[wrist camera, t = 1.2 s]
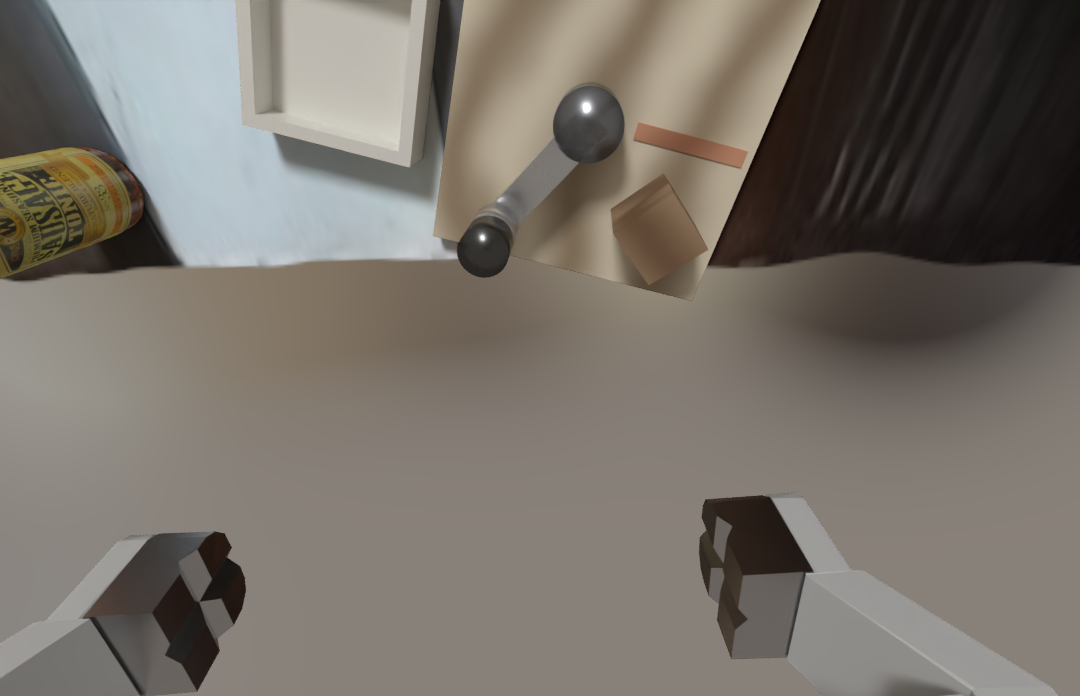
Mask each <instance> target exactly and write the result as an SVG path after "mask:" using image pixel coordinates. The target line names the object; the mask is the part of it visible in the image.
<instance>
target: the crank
mask: <svg viewBox="0 0 1080 696" xmlns="http://www.w3.org/2000/svg"><path fill="white" fill-rule="evenodd" d="M624 128H625V120H624V114H623V111H622V108H621V105H620V103H619V100H618V99H617V97H616V95H615V94H614V93H613V92H612V91H611V90H610V89H609V88H607V87H606V86H604V85H602V84H599V83H594V82H587V83H582V84H579V85H576V86H575V87H573V88H571V89H570V90H569V91H568V92H567V93H566V94H565V95H564V96H563V98H562V99H561V101H560V103H559V105H558V108H557V110H556V112H555V116H554V120H553V134H554V136H553V137H552V138H551V139H550V140H549V141H548V142H547V144H546V145H545V146H544V147H543V148H542V149H541V150H540V151H539V152H538V154H537V155H536V156H535V157H534V158H533V159H532V160H531V161H530V162H529V163H528V165H527V166H526V167H525V168H524V169H523V170H522V171H521V172H520V173H519V175H518V176H517V177H516V178H515V179H514V180H513V181H512V182H511V183H510V184H509V186H508V187H507V188H506V189H505V190H504V191H503V192H502V193H501V194H500V196H499V197H498V198H497V199H496V200H495V201H494V202H493V203H492V204H488V205H485V206H484V207H482V208H481V209H480V210H479V211H478V212H477V214H476V215H475V217H474V219H473V220H472V222H471V223H470V225H469V227H468V228H467V230H466V231H465V233H464V235H463V236H462V238H461V239H460V241H459V244H458V247H457V254H458V259H459V261H460V263H461V265H462V266H463V267H464V269H466V270H467V271H468V272H469V273H471V274H472V275H475V276H478V277H491V276H494V275H497V274H498V273H500V272H501V271H502V270H503V268H504V267H505V266H506V263H507V261H508V258H509V255H510V252H511V250H512V247H513V244H514V241H515V239H516V236H517V233H518V226H519V225H520V224H521V223H522V222H523V221H524V220H525V219H526V218H527V217H528V215H529V214H530V213H531V212H532V211H533V210H534V209H535V208H536V207H537V206H538V205H539V204H540V203H541V202H542V201H543V200H544V199H545V198H546V197H547V196H548V195H549V194H550V193H551V191H552V190H553V189H554V188H555V187H556V186H557V185H558V184H559V183H560V182H561V181H562V180H563V179H564V178H565V177H566V176H567V175H568V174H569V173H570V172H571V171H572V170H573V169H574V167H575V166H576V165H577V164H578V163H584V164H591V163H597V162H599V161H602V160H604V159H606V158H607V157H609V156H610V155H611V154H612V153H613V152H614V151H615V150H616V149H617V147H618V146H619V144H620V142H621V140H622V137H623V134H624Z"/></svg>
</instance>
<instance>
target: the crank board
mask: <svg viewBox="0 0 1080 696" xmlns="http://www.w3.org/2000/svg"><path fill="white" fill-rule="evenodd" d="M820 1H821V0H464V6H463V13H462V21H461V28H460V36H459V44H458V51H457V59H456V66H455V74H454V82H453V89H452V97H451V104H450V112H449V119H448V127H447V135H446V142H445V150H444V157H443V165H442V172H441V180H440V188H439V195H438V203H437V210H436V218H435V226H434V233H433V236H435V237H439V238H443V239H447V240H451V241H455V242H459V241H460V239H461V238H462V236H463V235H464V233H465V231H466V230H467V228H468V227H469V225H470V223H471V222H472V220H473V219H474V217H475V215H476V214H477V212H478V211H479V210H480V209H481V208H482V207H484V206H485V205H488V204H492V203H493V202H494V201H495V200H496V199H497V198H498V197H499V196H500V194H501V193H502V192H503V191H504V190H505V189H506V188H507V187H508V186H509V184H510V183H511V182H512V181H513V180H514V179H515V178H516V177H517V176H518V175H519V173H520V172H521V171H522V170H523V169H524V168H525V167H526V166H527V165H528V163H529V162H530V161H531V160H532V159H533V158H534V157H535V156H536V155H537V154H538V152H539V151H540V150H541V149H542V148H543V147H544V146H545V145H546V144H547V142H548V141H549V140H550V139H551V138H552V137H553V136H554V134H553V120H554V116H555V112H556V110H557V108H558V105H559V103H560V101H561V99H562V98H563V96H564V95H565V94H566V93H567V92H568V91H569V90H570V89H571V88H573V87H575V86H576V85H579V84H582V83H587V82H594V83H599V84H602V85H604V86H606V87H607V88H609V89H610V90H611V91H612V92H613V93H614V94H615V95H616V97H617V99H618V100H619V103H620V105H621V108H622V111H623V114H624V120H625V128H624V134H623V137H622V140H621V142H620V144H619V146H618V147H617V149H616V150H615V151H614V152H613V153H612V154H611V155H610V156H609V157H607V158H606V159H604V160H602V161H599V162H597V163H591V164H584V163H578V164H577V165H576V166H575V167H574V169H573V170H572V171H571V172H570V173H569V174H568V175H567V176H566V177H565V178H564V179H563V180H562V181H561V182H560V183H559V184H558V185H557V186H556V187H555V188H554V189H553V190H552V191H551V193H550V194H549V195H548V196H547V197H546V198H545V199H544V200H543V201H542V202H541V203H540V204H539V205H538V206H537V207H536V208H535V209H534V210H533V211H532V212H531V213H530V214H529V215H528V217H527V218H526V219H525V220H524V221H523V222H522V223H521V224H520V225H519V226H518V233H517V236H516V239H515V241H514V244H513V247H512V250H511V252H510V255H511V256H515V257H519V258H523V259H527V260H531V261H535V262H539V263H543V264H546V265H550V266H554V267H558V268H562V269H566V270H570V271H574V272H578V273H583V274H587V275H590V276H594V277H598V278H603V279H606V280H610V281H614V282H618V283H622V284H626V285H630V286H634V287H638V288H642V289H646V290H650V291H654V292H658V293H662V294H666V295H670V296H674V297H678V298H682V299H686V300H690V301H692V299H693V297H694V295H695V292H696V290H697V288H698V285H699V283H700V281H701V278H702V276H703V274H704V271H705V269H706V267H707V264H708V262H709V260H710V257H711V255H712V253H713V250H714V248H715V246H716V243H717V241H718V239H719V236H720V234H721V232H722V229H723V227H724V225H725V222H726V220H727V218H728V215H729V213H730V211H731V208H732V206H733V204H734V201H735V199H736V197H737V194H738V192H739V190H740V188H741V185H742V183H743V181H744V178H745V176H746V174H747V171H748V169H749V167H750V164H751V162H752V160H753V157H754V155H755V153H756V150H757V148H758V146H759V143H760V141H761V139H762V136H763V134H764V132H765V129H766V127H767V125H768V122H769V120H770V118H771V115H772V113H773V111H774V108H775V106H776V104H777V101H778V99H779V97H780V94H781V92H782V90H783V87H784V85H785V83H786V80H787V78H788V76H789V73H790V71H791V69H792V66H793V64H794V62H795V59H796V57H797V55H798V52H799V50H800V48H801V45H802V43H803V41H804V38H805V36H806V34H807V31H808V29H809V27H810V24H811V22H812V20H813V17H814V15H815V13H816V10H817V8H818V6H819V3H820ZM663 173H664V174H665V176H666V178H667V179H668V181H669V183H670V184H671V186H672V187H673V189H674V191H675V192H676V194H677V196H678V197H679V199H680V200H681V202H682V204H683V205H684V207H685V209H686V210H687V212H688V213H689V215H690V217H691V218H692V220H693V222H694V223H695V225H696V227H697V229H698V231H699V233H700V235H701V237H702V238H703V240H704V242H705V244H706V246H707V248H708V250H707V251H705V252H704V253H702V254H700V255H699V256H697V257H695V258H694V259H692V260H690V261H689V262H687V263H685V264H684V265H682V266H680V267H679V268H677V269H675V270H674V271H672V272H670V273H669V274H667V275H665V276H664V277H662V278H660V279H659V280H657V281H655V282H654V283H652V284H650V285H648V284H647V282H646V281H645V279H644V278H643V276H642V275H641V273H640V272H639V271H638V269H637V268H636V266H635V265H634V263H633V262H632V260H631V259H630V258H629V256H628V255H627V253H626V252H625V250H624V249H623V247H622V246H621V245H620V243H619V242H618V240H617V239H616V237H615V236H614V234H613V228H612V218H611V209H612V208H613V207H614V206H616V205H617V204H619V203H620V202H622V201H623V200H625V199H626V198H628V197H629V196H631V195H632V194H634V193H635V192H636V191H638V190H639V189H641V188H642V187H644V186H645V185H647V184H648V183H650V182H651V181H653V180H654V179H656V178H657V177H659V176H660V175H661V174H663Z"/></svg>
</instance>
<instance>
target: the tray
mask: <svg viewBox="0 0 1080 696" xmlns="http://www.w3.org/2000/svg"><path fill="white" fill-rule="evenodd" d="M439 9H440V0H236V18H237V35H238V52H239V69H240V86H241V103H242V120H243V125H246V126H250V127H254V128H257V129H261V130H265V131H269V132H273V133H277V134H281V135H285V136H288V137H292V138H296V139H300V140H304V141H308V142H312V143H316V144H320V145H323V146H327V147H331V148H335V149H339V150H343V151H347V152H351V153H355V154H358V155H362V156H366V157H370V158H374V159H378V160H382V161H386V162H389V163H393V164H397V165H401V166H405V167H409V168H410V167H412V166H413V165H414V164H415V163H417V162H418V161H419V160H421V159H422V158H423V151H424V142H425V134H426V125H427V116H428V107H429V98H430V89H431V80H432V71H433V62H434V53H435V44H436V35H437V27H438V18H439Z"/></svg>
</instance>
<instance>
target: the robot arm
mask: <svg viewBox="0 0 1080 696" xmlns="http://www.w3.org/2000/svg"><path fill="white" fill-rule="evenodd" d="M702 520H703V522H704V524H705V527H706V531H705V532H704V533H703V535H702V536H701V537H700V545H699V556H700V566H701V572H702V576H703V580H704V583H705V586H706V589H707V592H708V595H709V596H710V597H711V598H712V599H713V600H715V601H716V602H717V603H718V604H719V607H718V617H717V621H718V623H719V626H720V629H721V632H722V635H723V637H724V640H725V643H726V646H727V648H728V651H729V654H730V657H731V659H749V658H779V657H787V661H788V662H789V663H790V664H791V665H792V666H793V667H794V668H795V669H796V670H797V671H798V672H800V674H801V675H802V676H803V677H804V678H806V680H807V681H809V682H810V683H811V684H812V685H813V686H814V687H815V688H816V689H817V690H818V691H819V692H820V693H821V694H822V695H823V696H1058V694H1056V692H1055V691H1054V690H1053V689H1052V687H1051V686H1049V685H1047V684H1046V683H1044V682H1042V681H1041V680H1039V679H1038V678H1036V677H1034V676H1033V675H1031V674H1029V673H1028V672H1026V671H1024V670H1023V669H1021V668H1020V667H1018V666H1017V665H1015V664H1013V663H1012V662H1010V661H1008V660H1007V659H1005V658H1004V657H1002V656H1000V655H999V654H997V653H996V652H994V651H992V650H991V649H989V648H987V647H986V646H984V645H982V644H981V643H979V642H978V641H976V640H974V639H973V638H971V637H969V636H968V635H966V634H965V633H963V632H962V631H960V630H958V629H957V628H955V627H954V626H952V625H950V624H949V623H947V622H945V621H944V620H942V619H940V618H939V617H937V616H936V615H934V614H933V613H931V612H929V611H928V610H926V609H924V608H923V607H921V606H920V605H918V604H916V603H915V602H913V601H912V600H910V599H908V598H907V597H905V596H903V595H902V594H900V593H899V592H897V591H895V590H894V589H892V588H890V587H889V586H887V585H886V584H884V583H882V582H881V581H879V580H878V579H876V578H874V577H873V576H871V575H869V574H868V573H866V572H865V571H863V570H852V569H851V568H850V566H849V565H848V563H847V562H846V560H845V559H844V557H843V556H842V554H841V553H840V552H839V550H838V548H837V547H836V546H835V544H834V543H833V541H832V540H831V538H830V537H829V535H828V534H827V532H826V531H825V529H824V528H823V526H822V525H821V523H820V522H819V520H818V519H817V518H816V516H815V515H814V513H813V512H812V510H811V509H810V507H809V506H808V504H807V503H806V501H805V500H804V499H803V497H802V496H801V495H799V494H798V493H796V492H793V493H782V494H768V495H765V496H763V495H759V496H745V497H732V498H718V499H706V500H705V502H704V504H703V509H702ZM231 548H232V547H231V545H230V543H229V541H228V539H227V537H226V535H225V533H220V532H216V531H214V532H191V533H190V532H189V533H164V534H158V535H130V536H128V537H126V538H124V539H122V540H120V541H118V542H117V543H116V544H115V545H114V546H113V548H112V549H111V550H110V551H109V552H108V553H107V554H106V555H105V556H104V557H103V559H102V560H101V561H100V562H99V563H98V564H97V565H96V566H95V567H94V568H93V569H92V571H91V572H90V573H89V574H88V575H87V576H86V577H85V578H84V579H83V580H82V582H81V583H80V584H79V585H78V586H77V587H76V588H75V589H74V590H73V592H72V593H71V594H70V595H69V596H68V597H67V598H66V599H65V600H64V601H63V602H62V604H61V605H60V606H59V607H58V608H57V609H56V610H55V611H54V612H53V614H52V615H51V616H50V617H49V618H48V619H47V620H46V621H42V622H35V623H33V624H31V625H30V626H28V627H26V628H25V629H23V630H21V631H20V632H18V633H17V634H15V635H13V636H12V637H10V638H8V639H7V640H5V641H3V642H2V643H0V696H155V695H166V694H177V693H186V692H187V693H188V692H197V691H198V689H199V687H200V685H201V684H202V682H203V680H204V678H205V676H206V675H207V673H208V671H209V669H210V667H211V666H212V664H213V662H214V660H215V658H216V657H217V655H218V653H219V651H220V649H219V644H218V639H217V638H219V637H220V636H221V635H222V634H223V633H225V632H226V631H227V630H228V629H230V628H231V627H232V626H233V625H234V624H235V622H236V620H237V618H238V616H239V614H240V612H241V610H242V607H243V603H244V598H245V593H246V585H245V577H244V575H243V572H242V570H241V567H240V566H238V565H237V564H236V563H234V562H233V561H231V560H230V559H228V558H227V557H228V555H229V552H230V550H231Z"/></svg>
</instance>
